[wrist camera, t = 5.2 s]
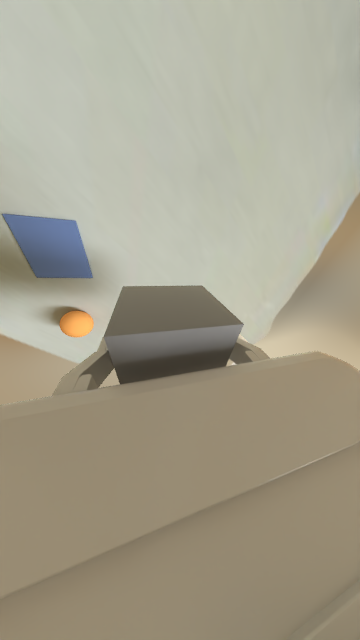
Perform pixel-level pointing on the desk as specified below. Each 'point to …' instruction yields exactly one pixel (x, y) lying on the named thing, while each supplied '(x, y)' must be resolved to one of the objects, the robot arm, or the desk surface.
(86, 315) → the orange egg
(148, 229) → the desk surface
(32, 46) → the desk surface
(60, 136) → the desk surface
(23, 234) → the tape mark
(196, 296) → the block
